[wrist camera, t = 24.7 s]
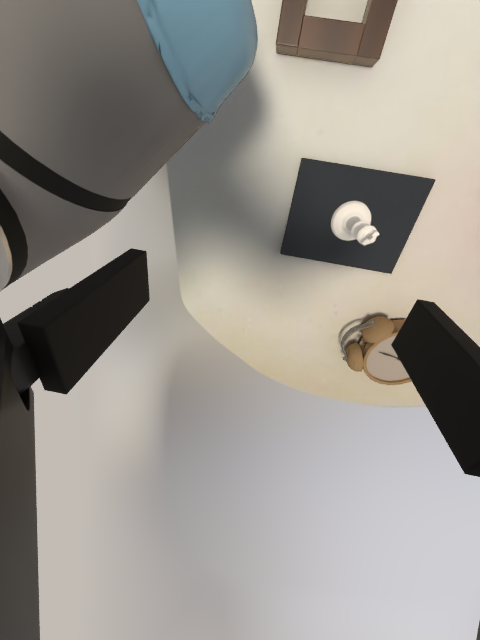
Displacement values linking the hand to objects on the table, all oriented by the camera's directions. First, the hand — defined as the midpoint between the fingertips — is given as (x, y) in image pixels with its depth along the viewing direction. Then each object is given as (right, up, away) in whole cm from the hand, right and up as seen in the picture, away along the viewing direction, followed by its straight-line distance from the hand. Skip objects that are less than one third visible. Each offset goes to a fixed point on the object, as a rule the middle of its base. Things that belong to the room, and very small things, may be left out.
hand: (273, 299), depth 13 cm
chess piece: (+13, +12, +22) cm, 28 cm away
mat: (+13, +13, +22) cm, 29 cm away
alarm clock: (+22, -5, +31) cm, 39 cm away
